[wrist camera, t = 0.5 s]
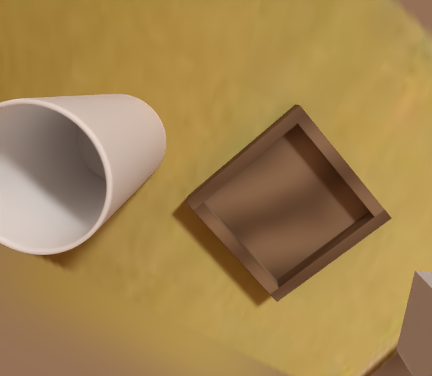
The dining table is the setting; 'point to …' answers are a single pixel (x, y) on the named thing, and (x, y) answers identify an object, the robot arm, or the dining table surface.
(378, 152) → the dining table surface
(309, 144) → the square wooden tray
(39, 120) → the cup
